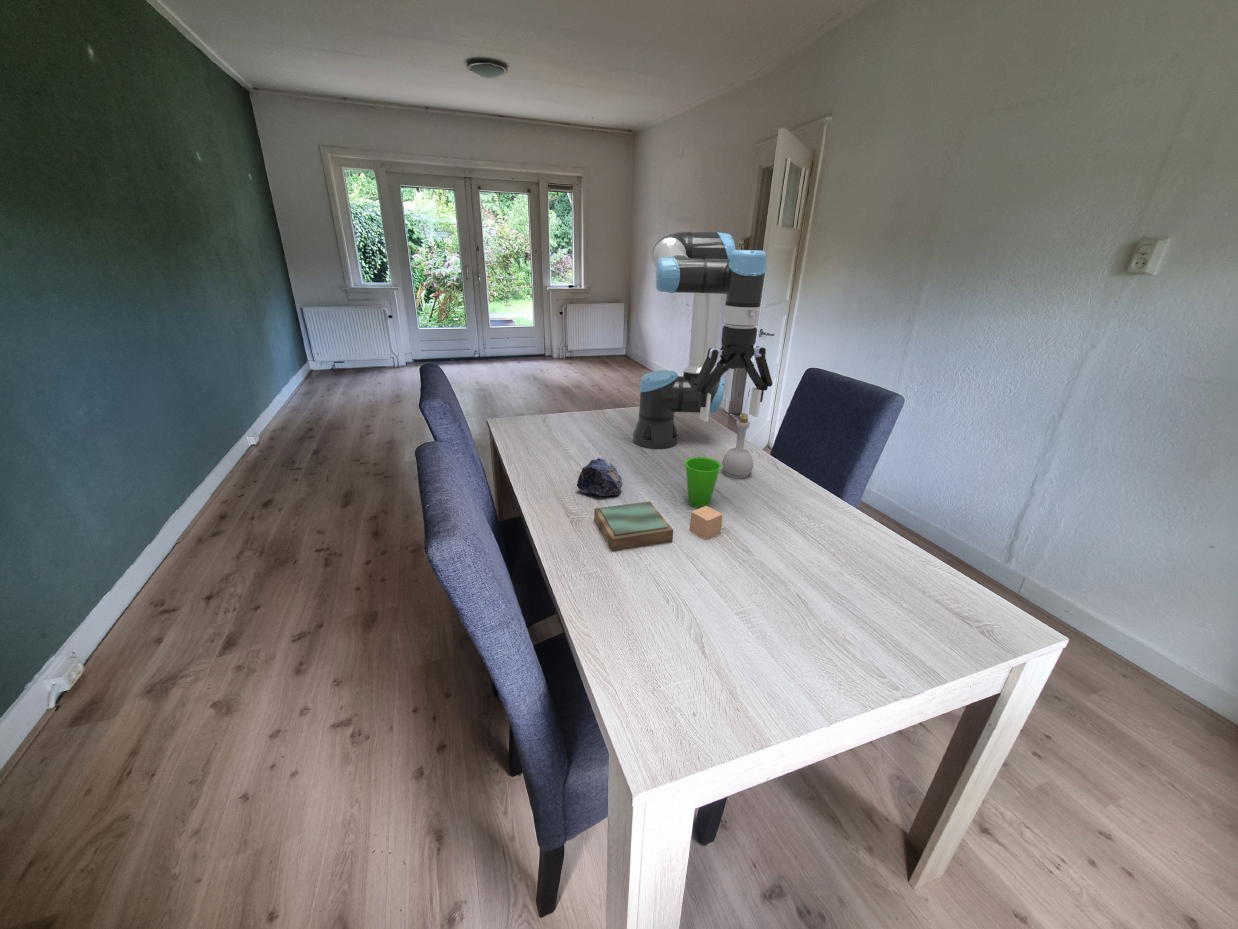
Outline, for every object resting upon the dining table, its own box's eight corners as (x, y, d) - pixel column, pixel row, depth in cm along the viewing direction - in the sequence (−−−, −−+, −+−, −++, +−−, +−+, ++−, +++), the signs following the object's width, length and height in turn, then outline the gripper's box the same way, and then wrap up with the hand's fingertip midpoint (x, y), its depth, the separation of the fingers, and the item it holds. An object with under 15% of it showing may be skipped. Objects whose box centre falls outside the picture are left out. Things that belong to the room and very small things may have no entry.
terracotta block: (689, 530, 114) (691, 511, 112) (704, 524, 116) (706, 505, 114) (705, 540, 110) (707, 520, 108) (720, 533, 113) (722, 514, 111)
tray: (594, 519, 117) (594, 507, 115) (649, 512, 121) (650, 499, 120) (611, 551, 105) (612, 537, 103) (672, 541, 109) (673, 528, 107)
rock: (569, 486, 127) (586, 451, 126) (587, 489, 136) (603, 457, 136) (602, 505, 123) (620, 469, 122) (618, 507, 132) (635, 474, 131)
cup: (716, 513, 121) (721, 473, 117) (679, 509, 123) (683, 469, 118) (717, 497, 129) (721, 458, 125) (682, 493, 131) (686, 455, 126)
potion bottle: (749, 468, 147) (757, 410, 140) (753, 481, 139) (762, 420, 132) (719, 466, 148) (726, 409, 141) (722, 479, 140) (729, 418, 133)
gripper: (698, 329, 102) (689, 427, 110) (797, 327, 110) (782, 417, 118) (681, 324, 108) (674, 417, 116) (776, 322, 116) (763, 409, 125)
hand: (729, 417), depth 117 cm, fingers open, 13 cm apart
